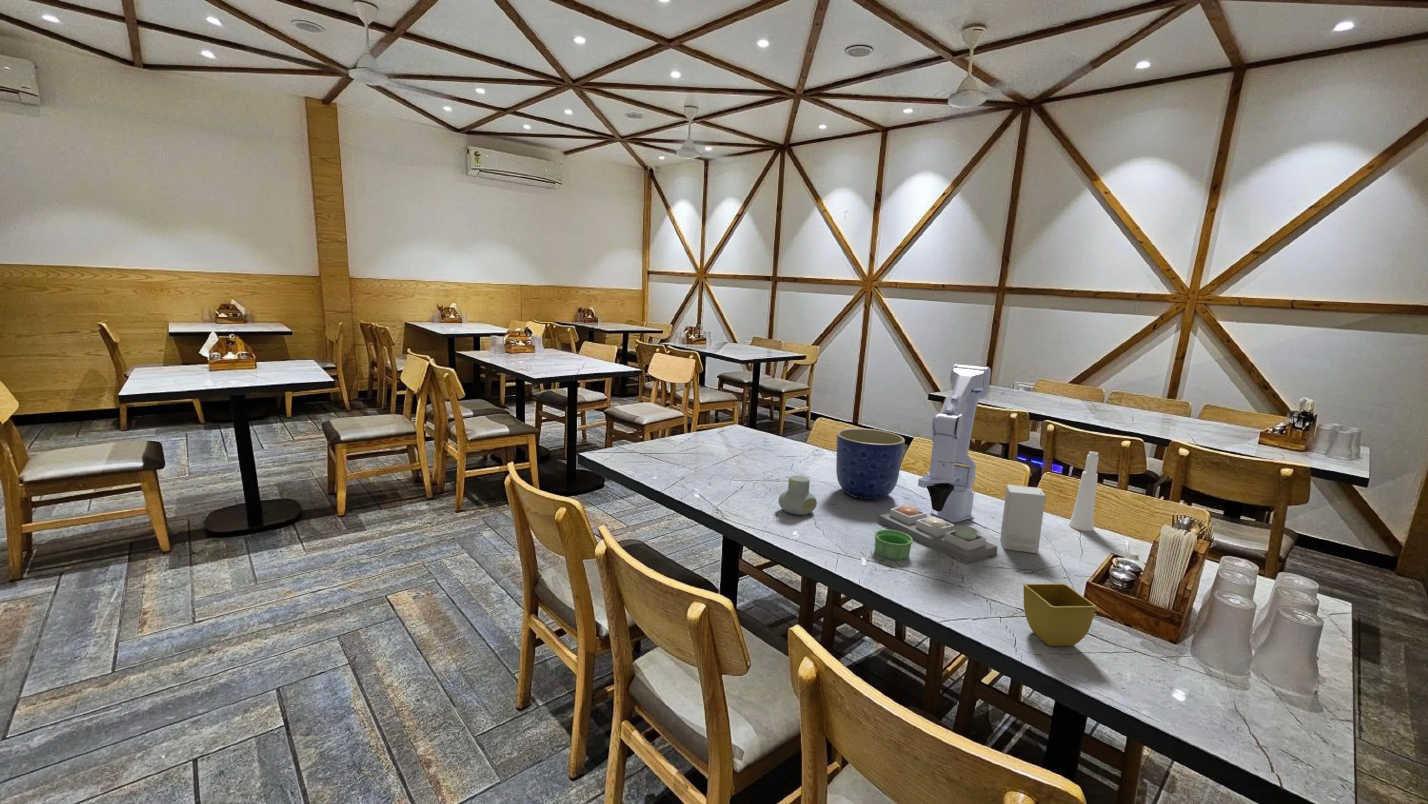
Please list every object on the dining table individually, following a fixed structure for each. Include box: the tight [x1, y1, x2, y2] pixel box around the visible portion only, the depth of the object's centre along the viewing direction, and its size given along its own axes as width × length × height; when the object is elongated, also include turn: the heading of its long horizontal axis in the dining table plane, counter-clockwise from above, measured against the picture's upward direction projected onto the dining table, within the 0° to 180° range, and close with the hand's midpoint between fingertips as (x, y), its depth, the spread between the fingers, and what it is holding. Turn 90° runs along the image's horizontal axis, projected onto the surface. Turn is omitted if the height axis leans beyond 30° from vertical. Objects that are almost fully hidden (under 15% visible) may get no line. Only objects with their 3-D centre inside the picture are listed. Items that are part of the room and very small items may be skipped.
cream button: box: [925, 516, 947, 528], centre depth 154 cm, size 5×5×2 cm
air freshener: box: [777, 475, 818, 516], centre depth 168 cm, size 11×8×10 cm
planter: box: [835, 427, 906, 500], centre depth 184 cm, size 21×21×19 cm
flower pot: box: [1023, 583, 1098, 647], centre depth 109 cm, size 9×9×9 cm
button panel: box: [877, 505, 998, 564], centre depth 154 cm, size 12×28×4 cm, turn 31°
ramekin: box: [874, 529, 914, 561], centre depth 143 cm, size 9×9×4 cm
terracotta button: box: [898, 505, 919, 516], centre depth 161 cm, size 5×5×2 cm
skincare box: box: [999, 484, 1047, 554], centre depth 149 cm, size 8×7×16 cm
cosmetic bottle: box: [1068, 451, 1100, 532], centre depth 164 cm, size 6×6×22 cm
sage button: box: [955, 524, 978, 542], centre depth 146 cm, size 5×5×2 cm
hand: (936, 510), depth 153 cm, fingers closed
